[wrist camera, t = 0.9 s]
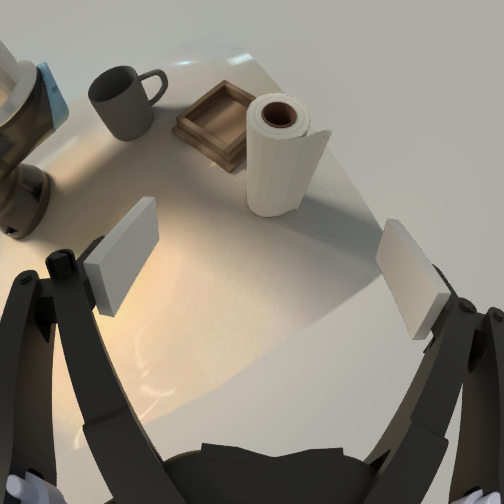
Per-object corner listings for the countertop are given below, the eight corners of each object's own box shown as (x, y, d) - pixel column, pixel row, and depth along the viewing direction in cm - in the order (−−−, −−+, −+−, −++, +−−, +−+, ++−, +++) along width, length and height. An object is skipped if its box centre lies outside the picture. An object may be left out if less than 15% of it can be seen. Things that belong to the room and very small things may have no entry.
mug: (116, 149, 47) (90, 112, 36) (107, 119, 49) (84, 82, 37) (182, 117, 49) (169, 73, 37) (168, 89, 51) (154, 47, 39)
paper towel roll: (239, 196, 45) (233, 107, 25) (269, 176, 46) (283, 83, 25) (267, 231, 44) (283, 159, 23) (297, 209, 45) (333, 129, 24)
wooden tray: (172, 132, 48) (167, 119, 44) (225, 88, 51) (224, 75, 47) (229, 173, 46) (228, 161, 42) (282, 123, 49) (284, 109, 45)
